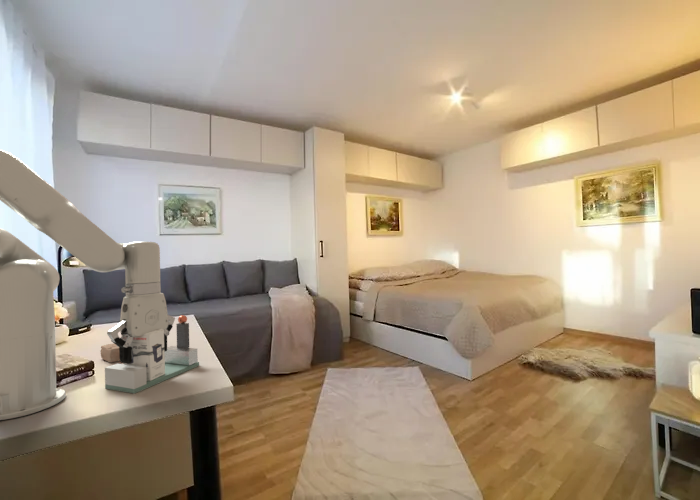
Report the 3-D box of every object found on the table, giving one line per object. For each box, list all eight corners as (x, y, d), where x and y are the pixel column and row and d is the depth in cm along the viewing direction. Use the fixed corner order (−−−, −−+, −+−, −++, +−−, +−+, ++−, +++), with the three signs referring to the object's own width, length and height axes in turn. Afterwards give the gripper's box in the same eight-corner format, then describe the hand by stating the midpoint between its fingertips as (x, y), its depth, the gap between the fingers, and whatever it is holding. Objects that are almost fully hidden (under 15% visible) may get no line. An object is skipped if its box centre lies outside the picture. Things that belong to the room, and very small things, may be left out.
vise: (134, 393, 73) (133, 371, 73) (105, 388, 77) (104, 367, 77) (199, 365, 91) (198, 348, 91) (173, 362, 95) (172, 345, 95)
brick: (156, 346, 113) (155, 333, 114) (167, 350, 109) (167, 336, 109) (99, 360, 100) (99, 345, 100) (109, 365, 95) (109, 349, 95)
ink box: (122, 379, 80) (121, 332, 80) (139, 372, 84) (138, 327, 85) (150, 381, 78) (149, 333, 78) (166, 373, 82) (165, 328, 83)
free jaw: (189, 365, 88) (187, 317, 88) (162, 362, 91) (161, 316, 91) (200, 360, 92) (199, 315, 92) (174, 357, 95) (173, 313, 95)
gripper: (119, 294, 72) (120, 369, 72) (182, 286, 88) (184, 347, 88) (97, 293, 75) (98, 366, 74) (162, 286, 91) (164, 345, 91)
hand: (145, 356), depth 81 cm, fingers open, 9 cm apart
